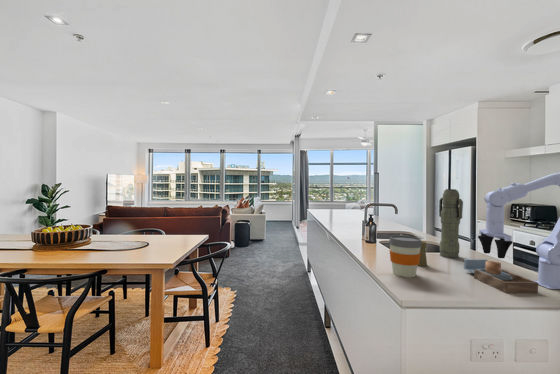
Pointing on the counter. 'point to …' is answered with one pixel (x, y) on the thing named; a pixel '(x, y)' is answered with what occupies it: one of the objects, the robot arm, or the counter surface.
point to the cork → (423, 254)
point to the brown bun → (493, 267)
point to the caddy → (508, 282)
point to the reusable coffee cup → (405, 255)
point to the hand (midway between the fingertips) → (493, 255)
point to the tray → (483, 268)
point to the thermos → (450, 223)
